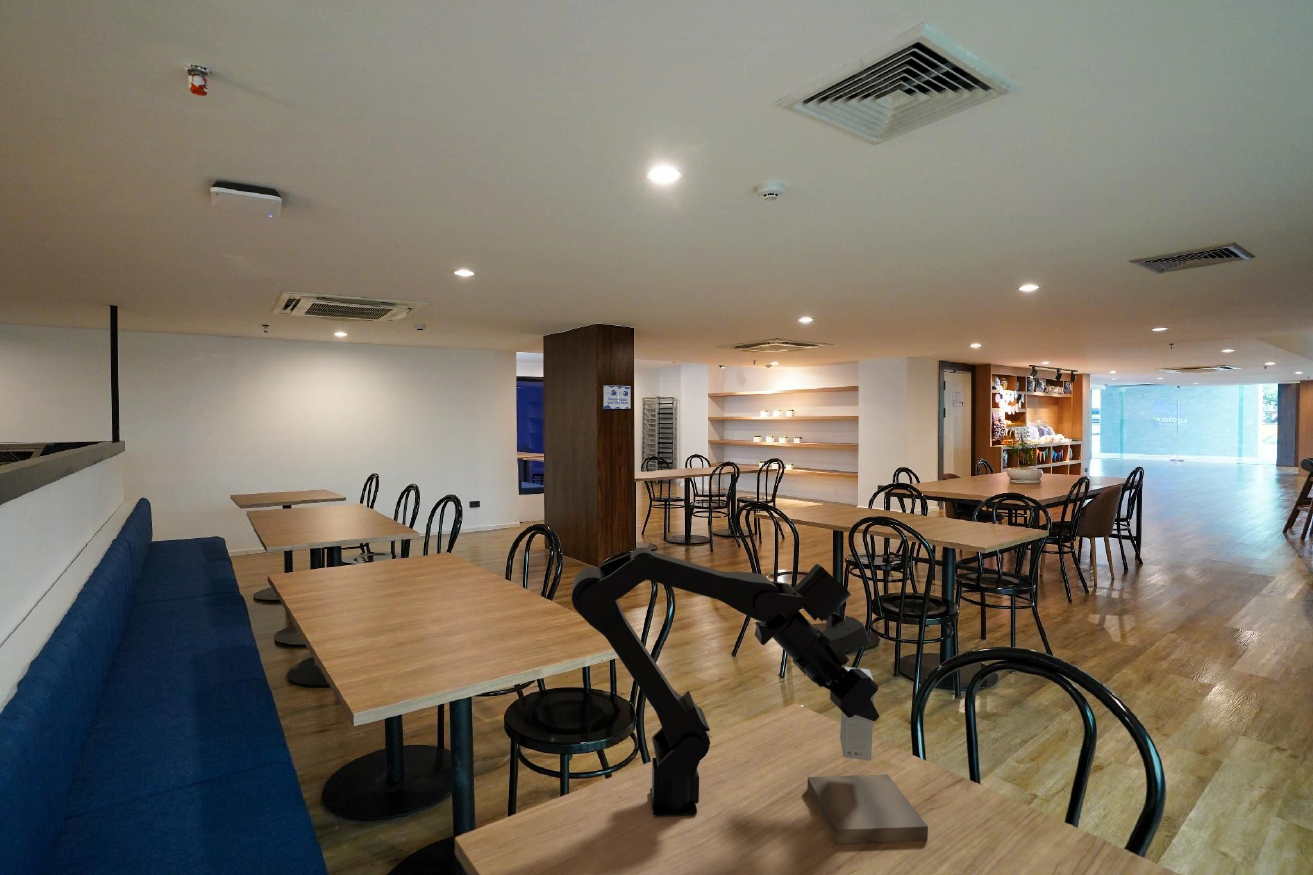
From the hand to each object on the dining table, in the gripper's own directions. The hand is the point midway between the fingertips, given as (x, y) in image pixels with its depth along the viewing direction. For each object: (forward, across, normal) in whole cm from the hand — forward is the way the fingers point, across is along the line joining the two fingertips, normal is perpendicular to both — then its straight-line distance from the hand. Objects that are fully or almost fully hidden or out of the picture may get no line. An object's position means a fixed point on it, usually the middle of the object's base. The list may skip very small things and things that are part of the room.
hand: (865, 707), depth 104 cm
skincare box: (+4, 0, +6) cm, 7 cm away
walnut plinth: (+8, -6, +11) cm, 15 cm away
